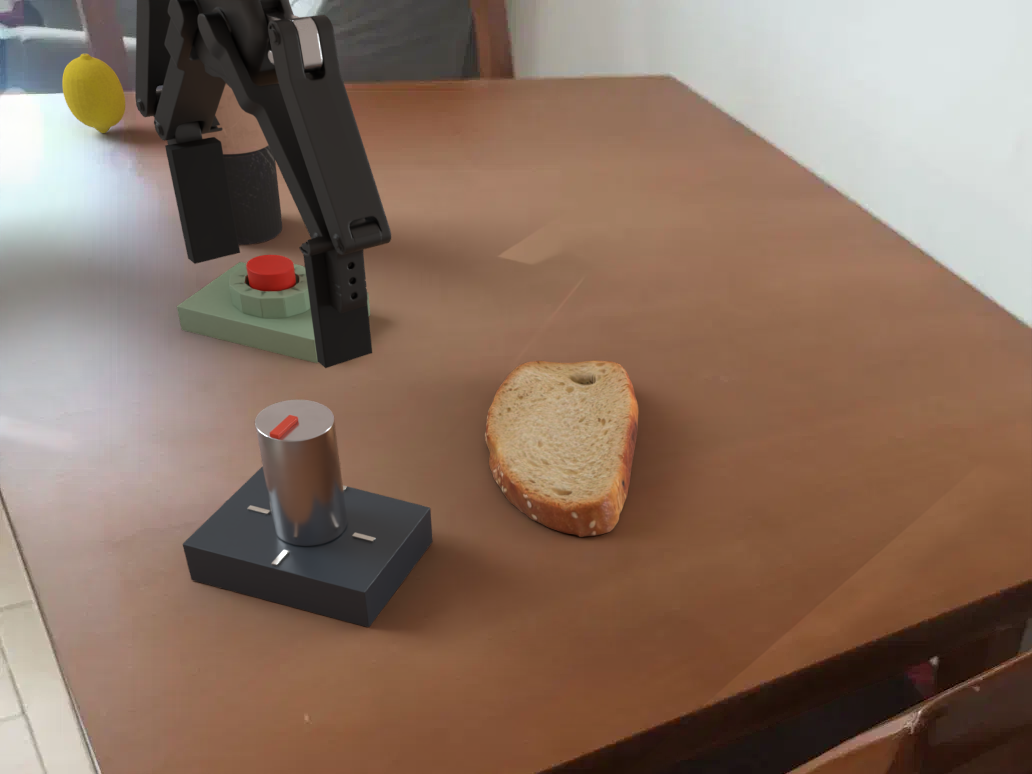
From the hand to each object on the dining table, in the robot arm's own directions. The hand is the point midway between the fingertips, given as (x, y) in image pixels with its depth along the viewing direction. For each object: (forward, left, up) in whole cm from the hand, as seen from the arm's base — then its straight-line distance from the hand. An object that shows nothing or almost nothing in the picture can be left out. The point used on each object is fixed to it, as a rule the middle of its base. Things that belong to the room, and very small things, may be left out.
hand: (276, 304), depth 61 cm
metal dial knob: (0, 0, -16) cm, 16 cm away
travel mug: (-30, +40, -19) cm, 53 cm away
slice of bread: (+11, +19, -19) cm, 29 cm away
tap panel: (0, 0, -19) cm, 19 cm away
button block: (-18, +26, -19) cm, 37 cm away
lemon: (-54, +53, -19) cm, 78 cm away
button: (-18, +26, -15) cm, 35 cm away
